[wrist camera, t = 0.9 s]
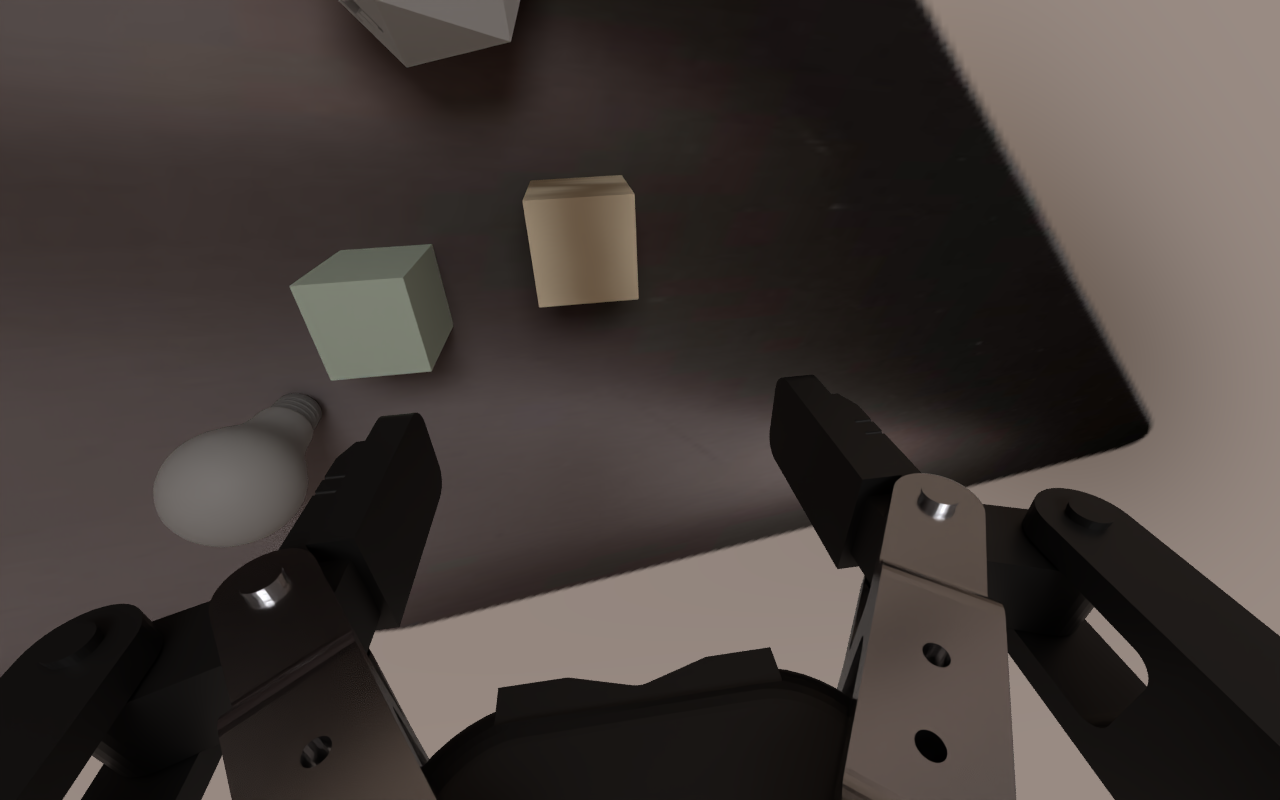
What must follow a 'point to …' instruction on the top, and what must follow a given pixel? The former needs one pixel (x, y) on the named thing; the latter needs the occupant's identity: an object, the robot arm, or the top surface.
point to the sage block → (376, 311)
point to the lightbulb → (239, 476)
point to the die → (435, 26)
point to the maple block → (582, 240)
